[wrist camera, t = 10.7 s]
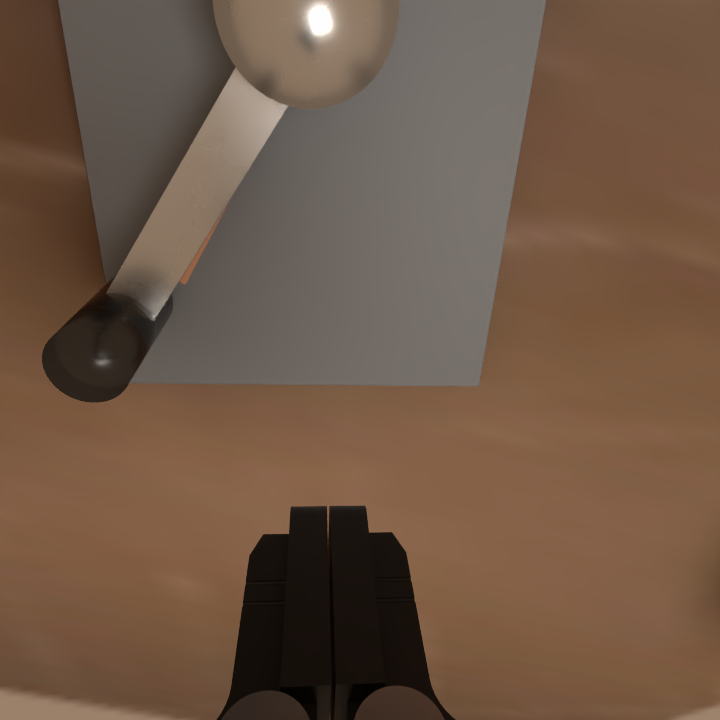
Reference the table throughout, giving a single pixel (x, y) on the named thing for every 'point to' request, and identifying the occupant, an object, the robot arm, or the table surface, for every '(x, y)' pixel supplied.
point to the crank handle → (219, 169)
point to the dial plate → (317, 194)
